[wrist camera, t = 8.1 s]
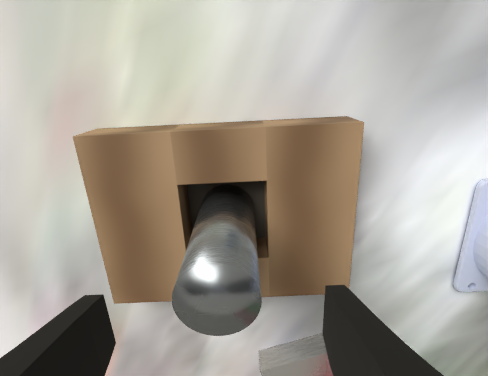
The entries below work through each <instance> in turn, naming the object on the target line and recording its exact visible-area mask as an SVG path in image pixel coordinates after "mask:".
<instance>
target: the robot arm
mask: <svg viewBox="0 0 488 376" xmlns="http://www.w3.org/2000/svg"><path fill="white" fill-rule="evenodd" d="M470 283H471V284H470ZM469 284H470V285H469ZM453 286H454V288H455V289H456V290H457V291H459V292H476V291H488V179H483V180H481V181H480V182H479V183H478V184H477V186H476V190H475V194H474V198H473V203H472V207H471V211H470V215H469V219H468V224H467V228H466V232H465V236H464V241H463V245H462V249H461V253H460V257H459V262H458V266H457V270H456V274H455V279H454V283H453ZM323 338H324V343H325V347H326V351H327V356H328V360H329V364H330V368H331V371H332V374H333V376H443V375H442V374H441V373H440V372H438V371H437V370H436V369H435V368H433V367H432V366H431V365H430V364H429V363H428V362H426V361H425V360H424V359H423V358H422V357H420V356H419V355H418V354H417V353H416V352H415V351H413V350H412V349H411V348H410V347H409V346H408V345H407V344H405V343H404V342H403V341H402V340H401V339H400V338H399V337H398V336H397V335H396V334H395V333H393V332H392V331H391V330H390V329H389V328H388V327H387V326H386V325H385V324H384V323H383V322H382V321H381V320H380V319H379V318H378V317H377V316H376V315H375V314H373V313H372V312H371V311H370V310H369V309H368V308H367V307H366V306H365V305H364V304H363V303H362V302H361V301H360V300H359V299H358V298H357V297H356V296H355V295H354V294H353V293H352V292H351V291H350V290H349V289H348V288H347V287H346V286H345V285H326V286H325V302H324V319H323ZM115 344H116V342H115V338H114V334H113V330H112V326H111V322H110V318H109V315H108V311H107V307H106V303H105V299H104V295H85V296H83V297H82V298H80V299H79V300H77V301H76V302H75V303H73V304H72V305H71V306H69V307H68V308H67V309H65V310H64V311H63V312H61V313H60V314H59V315H57V316H56V317H55V318H53V319H52V320H51V321H50V322H48V323H47V324H46V325H44V326H43V327H42V328H40V329H39V330H38V331H36V332H35V333H34V334H32V335H31V336H30V337H28V338H27V339H26V340H25V341H23V342H22V343H21V344H19V345H18V346H17V347H15V348H14V349H13V350H11V351H10V352H8V353H7V354H6V355H4V356H3V357H1V358H0V376H105V373H106V370H107V367H108V365H109V362H110V359H111V356H112V353H113V350H114V347H115Z"/></svg>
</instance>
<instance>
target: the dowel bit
mask: <svg viewBox="0 0 488 376" xmlns="http://www.w3.org/2000/svg"><path fill="white" fill-rule="evenodd" d="M261 302H262V301H261V288H260V276H259V265H258V253H257V242H256V230H255V219H254V208H253V202H252V199H251V197H250V196H249V194H248V193H247V192H246V191H245V190H243V189H242V188H240V187H238V186H235V185H230V184H224V185H219V186H216V187H214V188H212V189H211V190H210V191H208V193H207V194H206V195H205V196H204V198H203V201H202V204H201V207H200V210H199V213H198V216H197V219H196V222H195V225H194V228H193V231H192V234H191V237H190V240H189V243H188V246H187V249H186V253H185V256H184V259H183V262H182V265H181V268H180V271H179V274H178V277H177V280H176V283H175V286H174V289H173V292H172V305H173V308H174V311H175V313H176V315H177V316H178V318H179V319H180V320H181V321H182V322H183V323H184V324H185V325H186V326H188V327H189V328H191V329H193V330H195V331H197V332H199V333H202V334H206V335H213V336H223V335H229V334H233V333H236V332H239V331H241V330H243V329H245V328H246V327H248V326H249V325H250V324H251V323H252V322H253V321H254V320H255V319H256V317H257V315H258V313H259V311H260V308H261Z"/></svg>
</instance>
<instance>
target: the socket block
mask: <svg viewBox="0 0 488 376" xmlns="http://www.w3.org/2000/svg"><path fill="white" fill-rule="evenodd" d="M363 129H364V122H362V121H359V120H356V119H353V118H350V117H347V116H344V117H324V118H304V119H284V120H264V121H244V122H224V123H204V124H184V125H164V126H144V127H124V128H104V129H95V130H92V131H89V132H86V133H83V134H80V135H76V136H73V140H74V144H75V148H76V152H77V156H78V160H79V164H80V168H81V172H82V176H83V180H84V184H85V188H86V192H87V196H88V200H89V204H90V208H91V212H92V216H93V220H94V224H95V228H96V232H97V236H98V240H99V244H100V249H101V253H102V257H103V261H104V265H105V269H106V273H107V277H108V281H109V285H110V289H111V293H112V297H113V301H114V304H115V303H138V302H161V301H172V292H173V289H174V286H175V283H176V280H177V277H178V274H179V271H180V268H181V265H182V262H183V259H184V256H185V253H186V249H187V246H188V243H189V240H190V237H191V234H192V231H193V228H194V225H195V222H196V219H197V216H198V213H199V210H200V207H201V204H202V201H203V198H204V196H205V195H206V194H207V193H208V191H210V190H211V189H212V188H214V187H216V186H219V185H224V184H230V185H235V186H238V187H240V188H242V189H243V190H245V191H246V192H247V193H248V194H249V196H250V197H251V199H252V202H253V208H254V219H255V230H256V242H257V253H258V265H259V276H260V288H261V297H273V296H296V295H318V294H325V286H326V285H345V286H346V287H347V288H348V289H349V283H350V272H351V261H352V250H353V239H354V228H355V217H356V206H357V195H358V184H359V173H360V162H361V151H362V140H363Z"/></svg>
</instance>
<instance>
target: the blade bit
mask: <svg viewBox="0 0 488 376" xmlns="http://www.w3.org/2000/svg"><path fill="white" fill-rule="evenodd" d="M259 364H260V372H261V375H262V376H333V374H332V371H331V368H330V364H329V360H328V356H327V351H326V347H325V343H324V338H323V333H321V334H317V335H313V336H310V337H306V338H303V339H299V340H296V341H292V342H288V343H285V344H281V345H278V346H274V347H270V348H267V349H263V350H260V351H259Z"/></svg>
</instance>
